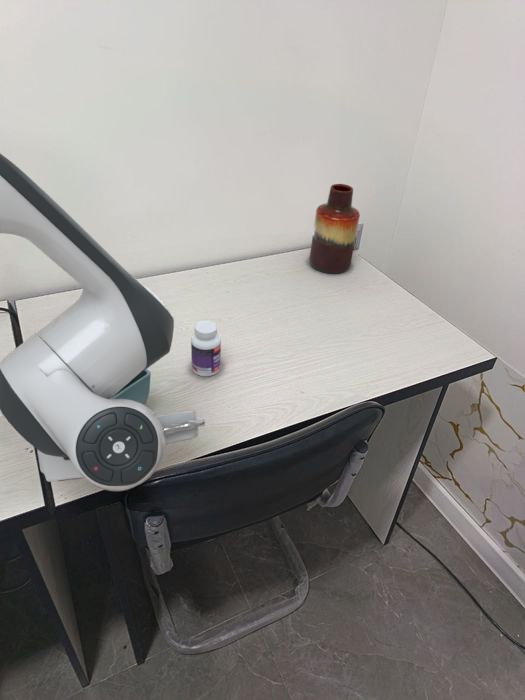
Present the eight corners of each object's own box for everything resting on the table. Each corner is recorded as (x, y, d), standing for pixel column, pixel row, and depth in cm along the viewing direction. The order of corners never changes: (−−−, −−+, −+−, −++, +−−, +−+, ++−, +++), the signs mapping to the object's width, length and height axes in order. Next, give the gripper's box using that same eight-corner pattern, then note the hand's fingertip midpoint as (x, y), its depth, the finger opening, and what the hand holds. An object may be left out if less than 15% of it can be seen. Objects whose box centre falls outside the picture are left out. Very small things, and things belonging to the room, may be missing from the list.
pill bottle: (219, 378, 92) (219, 336, 86) (190, 376, 92) (188, 334, 86) (221, 359, 96) (222, 318, 90) (193, 358, 96) (192, 317, 90)
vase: (336, 251, 136) (348, 177, 123) (358, 270, 128) (373, 193, 116) (301, 257, 132) (311, 181, 119) (322, 277, 124) (334, 198, 112)
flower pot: (156, 411, 84) (152, 371, 79) (116, 442, 79) (108, 401, 73) (121, 389, 88) (115, 349, 83) (80, 416, 82) (70, 376, 77)
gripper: (203, 396, 61) (189, 400, 74) (23, 429, 55) (43, 426, 68) (212, 447, 60) (196, 442, 74) (31, 486, 55) (49, 472, 68)
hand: (121, 435), depth 71 cm, fingers closed
